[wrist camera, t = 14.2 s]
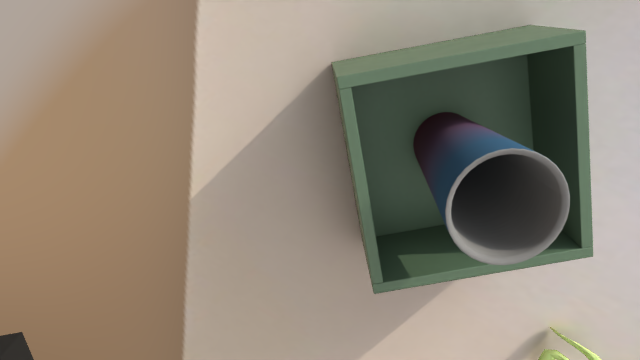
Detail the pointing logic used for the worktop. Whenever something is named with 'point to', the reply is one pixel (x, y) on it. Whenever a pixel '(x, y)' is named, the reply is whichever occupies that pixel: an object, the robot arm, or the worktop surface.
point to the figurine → (550, 355)
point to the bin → (478, 106)
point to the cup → (491, 189)
